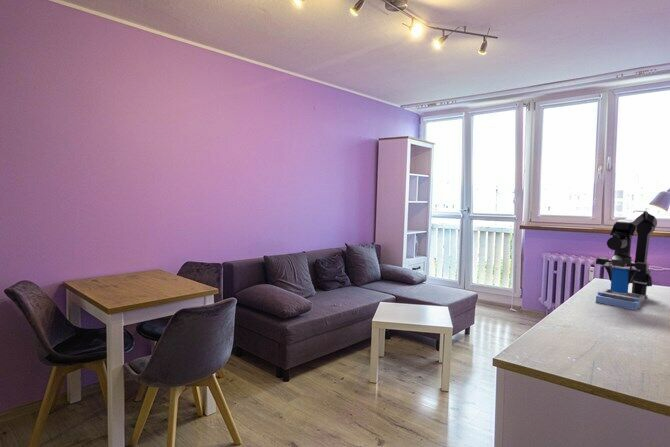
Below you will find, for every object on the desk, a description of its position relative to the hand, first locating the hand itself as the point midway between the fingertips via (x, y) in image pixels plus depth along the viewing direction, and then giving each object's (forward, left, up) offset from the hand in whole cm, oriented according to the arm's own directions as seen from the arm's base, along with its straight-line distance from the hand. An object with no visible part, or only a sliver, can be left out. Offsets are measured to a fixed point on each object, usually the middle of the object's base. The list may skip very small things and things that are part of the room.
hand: (619, 282), depth 176 cm
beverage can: (0, 0, -5) cm, 5 cm away
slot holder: (-5, 0, -10) cm, 11 cm away
